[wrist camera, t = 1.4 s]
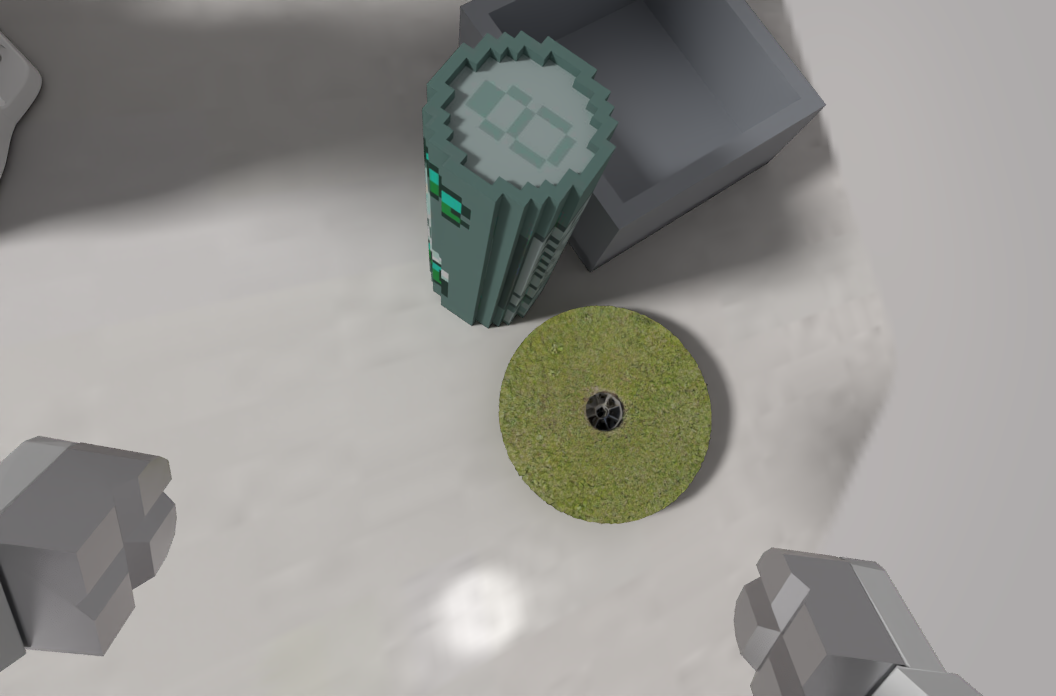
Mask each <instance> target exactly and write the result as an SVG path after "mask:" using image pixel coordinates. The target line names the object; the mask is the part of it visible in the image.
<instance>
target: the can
mask: <svg viewBox="0 0 1056 696" xmlns="http://www.w3.org/2000/svg"><path fill="white" fill-rule="evenodd" d="M596 72H597V69H596V68H594V67H593V66H591V65H590V64H588V63H587V62H585V61H584V60H582V59H581V58H579V57H578V56H577V55H575V54H574V53H572V52H571V51H569V50H568V49H566V48H565V47H563V46H562V45H560V44H559V43H557V42H556V41H554V40H553V39H552V38H550V37H549V36H547V37H546V39H545V40H544V41H543V42H542V44H541V43H539V42H538V41H536V40H535V39H533V38H532V37H530V36H529V35H527V34H526V33H524V32H523V31H520V32H519V34H518V35H517V36H516V37H515V38H513V37H512V36H510V35H509V34H507V33H506V32H504V33H503V34H502V35H501V36H500V37H499V39H498V40H497V39H496V38H494V37H493V36H492V35H490V34H489V33H487V34H486V35H485V36H484V37H483V39H482V40H481V41H480V42H479V43H478V44H477V46H476V47H475V48H474V49H473V48H471V47H470V46H468V45H467V44H465V43H464V42H463V43H462V44H461V45H460V47H459V48H458V49H457V50H456V51H455V52H454V54H453V55H452V56H451V57H450V58H449V59H448V60H447V62H446V63H445V64H444V65H443V66H442V67H441V68H440V70H439V71H438V72H437V73H436V74H435V75H434V77H433V78H432V79H431V80H430V81H429V82H428V83H427V104H426V105H425V106H424V107H423V108H422V118H423V139H424V159H425V180H426V200H427V220H428V241H429V261H430V271H431V277H432V281H433V291H435V292H436V293H437V294H439V295H440V296H441V305H442V306H444V307H445V308H447V309H448V310H449V311H451V312H452V313H454V314H455V315H457V316H458V317H460V318H461V319H462V320H464V321H465V322H467V323H468V324H470V325H471V326H472V325H473V323H474V322H475V321H476V320H477V321H478V322H480V323H481V324H482V325H484V326H485V327H487V328H489V327H490V325H491V324H492V323H494V324H495V325H496V326H498V327H499V325H500V324H501V323H502V321H503V322H505V323H506V324H508V325H509V324H510V323H511V321H512V320H513V318H514V317H515V316H516V314H518V315H519V316H521V317H522V318H523V317H524V316H525V314H526V313H527V311H528V310H529V309H530V307H531V306H532V304H533V303H534V301H535V300H536V299H537V297H538V296H539V294H540V293H541V292H542V290H543V288H544V286H545V284H546V283H547V281H548V279H549V277H550V275H551V273H552V271H553V269H554V267H555V265H556V263H557V261H558V259H559V257H560V255H561V253H562V251H563V249H564V247H565V245H566V244H567V242H568V240H569V238H570V236H571V234H572V232H573V230H574V228H575V226H576V224H577V222H578V220H579V218H580V216H581V214H582V212H583V210H584V208H585V207H586V205H587V203H588V201H589V199H590V197H591V195H592V193H593V191H594V189H595V187H596V185H597V183H598V181H599V179H600V177H601V175H602V173H603V171H604V169H605V168H606V166H607V164H608V162H609V160H610V158H611V156H612V154H613V152H614V150H615V148H616V146H615V145H613V144H612V143H610V142H609V141H610V139H611V137H612V135H613V133H614V131H615V129H616V127H617V125H618V123H619V122H618V121H616V120H615V119H613V118H612V117H611V114H612V112H613V110H614V108H615V107H614V106H613V105H612V104H610V103H609V102H607V100H608V98H609V95H610V93H611V91H610V90H608V89H607V88H605V87H604V86H602V85H601V84H599V83H598V82H596V81H595V80H594V78H595V75H596Z"/></svg>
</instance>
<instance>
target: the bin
mask: <svg viewBox="0 0 1056 696" xmlns="http://www.w3.org/2000/svg"><path fill="white" fill-rule="evenodd" d="M520 31H523V32H524V33H526V34H527V35H529V36H530V37H532V38H533V39H535V40H536V41H538V42H539V43H541V44H542V42H543V41H544V40H545V39H546V37H547V36H549V37H550V38H552V39H553V40H554V41H556V42H557V43H559V44H560V45H562V46H563V47H565V48H566V49H568V50H569V51H571V52H572V53H574V54H575V55H577V56H578V57H579V58H581V59H582V60H584V61H585V62H587V63H588V64H590V65H591V66H593V67H594V68H596V69H597V72H596V75H595V78H594V80H595V81H596V82H598V83H599V84H601V85H602V86H604V87H605V88H607V89H608V90H610V91H611V93H610V95H609V98H608V100H607V102H609V103H610V104H612V105H613V106H614V107H615V108H614V110H613V112H612V114H611V117H612V118H613V119H615V120H616V121H618V122H619V123H618V125H617V127H616V129H615V131H614V133H613V135H612V137H611V139H610V141H609V142H610V143H612V144H613V145H615V146H616V148H615V150H614V152H613V154H612V156H611V158H610V160H609V162H608V164H607V166H606V168H605V169H604V171H603V173H602V175H601V177H600V179H599V181H598V183H597V185H596V187H595V189H594V191H593V193H592V195H591V197H590V199H589V201H588V203H587V205H586V207H585V208H584V210H583V212H582V214H581V216H580V218H579V220H578V222H577V224H576V226H575V228H574V230H573V232H572V234H571V236H570V238H569V240H568V242H569V243H570V245H571V246H572V248H573V249H574V250H575V252H576V253H577V255H578V256H579V258H580V259H581V260H582V262H583V263H584V265H585V266H586V268H587V269H588V271H589V272H591V271H593V270H595V269H596V268H598V267H599V266H601V265H603V264H604V263H606V262H608V261H609V260H611V259H612V258H614V257H616V256H617V255H619V254H621V253H622V252H624V251H625V250H627V249H629V248H630V247H632V246H634V245H635V244H637V243H638V242H640V241H642V240H643V239H645V238H647V237H648V236H650V235H651V234H653V233H655V232H656V231H658V230H660V229H661V228H663V227H664V226H666V225H668V224H669V223H671V222H673V221H674V220H676V219H677V218H679V217H681V216H682V215H684V214H686V213H687V212H689V211H690V210H692V209H694V208H695V207H697V206H699V205H700V204H702V203H703V202H705V201H707V200H708V199H710V198H711V197H713V196H715V195H716V194H718V193H720V192H721V191H723V190H724V189H726V188H728V187H729V186H731V185H733V184H734V183H736V182H737V181H739V180H741V179H742V178H744V177H746V176H747V175H749V174H750V173H752V172H754V171H755V170H757V169H759V168H760V167H762V166H763V165H765V164H767V163H768V162H769V161H770V160H771V159H772V158H773V157H774V156H775V155H776V154H777V153H778V152H779V151H780V150H781V149H782V148H783V147H784V146H785V145H786V144H787V143H788V142H789V141H790V140H791V139H792V138H793V137H794V136H795V135H796V134H797V133H798V132H799V131H800V130H801V129H802V128H803V127H804V126H805V125H806V124H807V123H808V122H809V121H810V120H811V119H812V118H813V117H814V116H815V115H816V114H817V113H818V112H819V111H820V110H821V109H822V108H823V107H824V106H825V105H826V104H825V103H824V101H823V100H822V99H821V98H820V96H819V95H818V94H817V92H816V91H815V90H814V89H813V87H812V86H811V85H810V83H809V82H808V81H807V80H806V78H805V77H804V76H803V74H802V73H801V72H800V71H799V69H798V68H797V67H796V65H795V64H794V63H793V62H792V60H791V59H790V58H789V56H788V55H787V54H786V53H785V51H784V50H783V49H782V47H781V46H780V45H779V44H778V42H777V41H776V40H775V38H774V37H773V36H772V35H771V33H770V32H769V31H768V30H767V28H766V27H765V26H764V24H763V23H762V22H761V21H760V19H759V18H758V17H757V15H756V14H755V13H754V12H753V10H752V9H751V8H750V6H749V5H748V4H747V3H746V1H745V0H473V1H471V2H468V3H466V4H464V5H462V6H460V29H459V47H460V45H461V44H462V43H463V42H464V43H465V44H467V45H468V46H470V47H471V48H473V49H474V48H475V47H476V46H477V44H478V43H479V42H480V41H481V40H482V39H483V37H484V36H485V35H486V34H487V33H489V34H490V35H492V36H493V37H494V38H496V39H497V40H498V39H499V37H500V36H501V35H502V34H503V33H504V32H506V33H507V34H509V35H510V36H512V37H513V38H515V37H516V36H517V35H518V34H519V32H520Z"/></svg>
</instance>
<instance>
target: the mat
mask: <svg viewBox="0 0 1056 696" xmlns="http://www.w3.org/2000/svg"><path fill="white" fill-rule="evenodd" d="M499 401H500V404H499V410H500V411H499V423H500V429H501V432H502V437H503V442H504V444H505V448H506V449H507V454H508V456H509V459H510V460H511V462H512V464H513V465H514V466H515V469H516V470H517V472H518V474H519V476H522V479H523V481H524V482H525V483H526V484H527V485H529V487H530V489H531V490H533V491H534V492H535V493H536V494H537V495H538V496H539V497H540V498H542V499H543V501H546V503H547V504H549V505H552V506H553V507H554V508H555V509H557V510H558V511H560V512H564V513H566V514H567V515H570V516H572V517H573V518H577V519H582V520H585V521H588V522H597V523H601V524H603V523H610V524H614V523H616V524H620V523H624V522H631V521H636V520H639V519H642V518H644V517H647V516H649V515H652V514H654V513H656V512H658V511H660V510H662V509H664V508H665V507H666V506H669V505H670V503H671V502H674V501H675V500H676V499H677V498H678V497H679V496H680V494H681V493H683V492H684V491H685V490H686V489H687V488H688V486H689V483H691V482H692V481H693V479H694V477H695V475H696V474H697V472H698V471H699V469H700V467H701V463H702V462H703V461H704V457H705V455H706V452H707V450H708V445H709V439H711V438H710V432H711V404H710V398H709V394H708V391H707V384H706V383H704V378H703V376H702V373H701V370H700V369H699V368H698V364H697V363H696V361H695V360H694V358H693V357H692V356H691V354H690V353H689V352H688V350H687V349H686V348H684V346H683V345H682V343H681V342H680V340H679V339H678V338H677V337H676V336H674V335H673V334H672V333H671V332H670V331H669V330H667V329H666V328H665V327H663V326H662V325H660V323H658V322H655V321H654V320H652V319H650V318H648V317H647V316H645V315H641V314H639V313H637V312H635V311H631V310H627V309H624V308H617V307H614V306H597V305H596V306H590V307H588V306H586V307H580V308H577V309H571V310H568V311H566V312H563V313H560V314H558V315H557V316H554V317H552V318H550V319H549V320H547V321H545V322H544V323H543V324H541V325H540V326H538V327H537V328H536V329H535V330H533V331H532V332H531V333H530V334H529V335H528V337H527V338H525V340H524V341H523V342H522V343H521V345H520V346H519V347H518V349H517V350H516V352H515V354H514V355H513V357H512V358H511V360H510V363H509V364H508V367H507V370H506V372H505V376H504V379H503V381H502V386H501V391H500V399H499Z"/></svg>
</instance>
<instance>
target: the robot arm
mask: <svg viewBox="0 0 1056 696" xmlns="http://www.w3.org/2000/svg"><path fill="white" fill-rule="evenodd" d="M0 61H1V62H0V178H1V176H2V173H3V170H4V167H5V164H6V160H7V155H8V150H9V145H10V140H11V136H12V133H13V130H14V128H15V125H16V124H17V122H18V121H19V120H20V119H21V117H22V116H23V115H24V114H25V112H26V111H27V110H28V108H29V107H30V106H31V104H32V103H33V101H34V100H35V98H36V97H37V95H38V93H39V91H40V88H41V84H42V79H41V75H40V73H39V72H38V70H37V69H36V68H35V67H34V66H33V65H32V64H31V63H30V62H29V61H28V60H27V58H26V57H25V56H24V55H23V54H22V53H21V52H20V51H19V50H18V49H17V48H16V47H15V46H14V45H13V44H12V43H11V42H10V41H9V40H8V39H7V38H6V37H5V35H4V34H3V33H2V32H1V31H0ZM171 479H172V477H171V472H170V467H169V461H168V460H167V459H165V458H163V457H161V456H156V455H150V454H144V453H139V452H133V451H127V450H121V449H116V448H110V447H104V446H99V445H93V444H87V443H77V442H71V441H65V440H60V439H54V438H48V437H43V436H37V437H35V438H32V439H29V440H26V441H24V442H23V443H21V444H20V445H19V446H18V447H17V448H16V449H15V450H14V451H12V452H11V453H10V454H9V455H8V456H7V457H6V458H5V459H3V460H2V461H1V462H0V672H1V671H2V670H4V669H5V668H6V667H8V666H9V665H11V664H12V663H14V662H15V661H16V660H18V659H19V658H21V657H22V656H24V655H25V654H26V650H25V649H30V650H41V651H52V652H62V653H73V654H84V655H95V656H104V655H105V653H106V652H107V650H108V648H109V647H110V645H111V644H112V642H113V641H114V639H115V638H116V636H117V634H118V633H119V631H120V630H121V628H122V627H123V625H124V624H125V622H126V621H127V619H128V617H129V616H130V614H131V613H132V611H133V610H134V608H135V602H134V597H133V591H132V590H133V589H134V588H136V587H138V586H139V585H141V584H143V583H144V582H146V581H148V580H149V579H151V578H153V577H154V576H155V575H156V573H157V572H158V570H159V569H160V567H161V565H162V564H163V562H164V560H165V559H166V557H167V555H168V552H169V549H170V546H171V544H172V541H173V538H174V535H175V529H176V520H177V516H176V507H175V503H174V502H173V501H172V500H171V499H170V498H169V497H168V496H167V495H166V494H165V493H164V492H163V491H164V489H165V488H166V486H167V485H168V484H169V482H170V481H171ZM756 566H757V569H758V571H759V574H760V577H759V578H757V579H755V580H754V581H752V582H750V583H748V584H746V585H744V587H743V589H742V591H741V593H740V595H739V597H738V599H737V601H736V607H735V615H734V627H735V636H736V640H737V643H738V647H739V650H740V654H741V655H742V656H743V657H744V658H745V659H746V661H747V662H748V663H749V664H750V665H751V666H752V667H753V668H754V669H755V670H756V672H755V675H754V677H753V680H752V682H751V685H750V687H751V690H752V693H753V696H983V695H982V694H980V693H979V692H978V691H977V690H976V689H975V688H973V687H972V686H971V685H970V684H969V683H968V682H966V681H965V680H964V679H963V678H962V677H960V676H959V675H958V674H953V673H947V672H946V671H945V669H944V667H943V665H942V664H941V662H940V661H939V659H938V657H937V655H936V654H935V652H934V650H933V649H932V647H931V645H930V644H929V642H928V640H927V639H926V637H925V635H924V634H923V632H922V630H921V629H920V627H919V625H918V624H917V622H916V620H915V619H914V617H913V615H912V614H911V612H910V610H909V609H908V607H907V606H906V604H905V602H904V600H903V599H902V597H901V595H900V594H899V592H898V590H897V589H896V587H895V585H894V584H893V582H892V580H891V579H890V577H889V575H888V574H887V572H886V571H885V570H884V569H883V568H882V567H881V566H880V565H879V564H877V563H876V562H872V561H865V560H858V559H851V558H843V557H839V558H838V557H835V556H830V555H823V554H815V553H808V552H801V551H794V550H787V549H780V548H770V549H769V550H767V551H766V552H764V553H763V554H762V556H761V558H760V559H759V561H758V563H757V564H756Z"/></svg>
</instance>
